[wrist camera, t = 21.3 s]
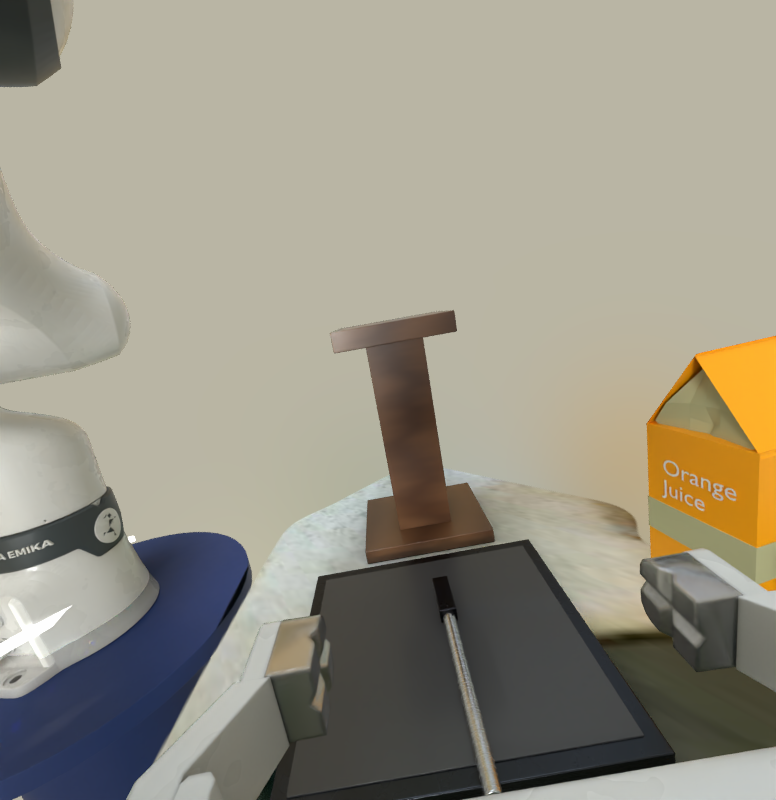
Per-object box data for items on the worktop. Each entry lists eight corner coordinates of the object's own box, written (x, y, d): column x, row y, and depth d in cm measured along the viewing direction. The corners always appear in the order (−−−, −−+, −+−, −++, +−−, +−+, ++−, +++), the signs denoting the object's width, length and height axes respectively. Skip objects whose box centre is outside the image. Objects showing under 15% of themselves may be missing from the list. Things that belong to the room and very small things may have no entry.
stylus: (481, 809, 19) (478, 791, 19) (433, 589, 35) (431, 577, 35) (509, 804, 19) (506, 786, 19) (449, 586, 35) (447, 575, 35)
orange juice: (858, 624, 26) (889, 329, 22) (753, 667, 25) (764, 359, 20) (734, 558, 34) (739, 329, 30) (648, 588, 32) (640, 351, 28)
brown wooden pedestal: (367, 564, 42) (319, 334, 37) (369, 510, 54) (332, 330, 48) (495, 541, 42) (464, 308, 37) (468, 492, 54) (442, 310, 48)
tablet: (268, 838, 21) (263, 823, 20) (320, 584, 40) (317, 575, 40) (676, 767, 21) (676, 751, 20) (529, 547, 40) (528, 538, 40)
